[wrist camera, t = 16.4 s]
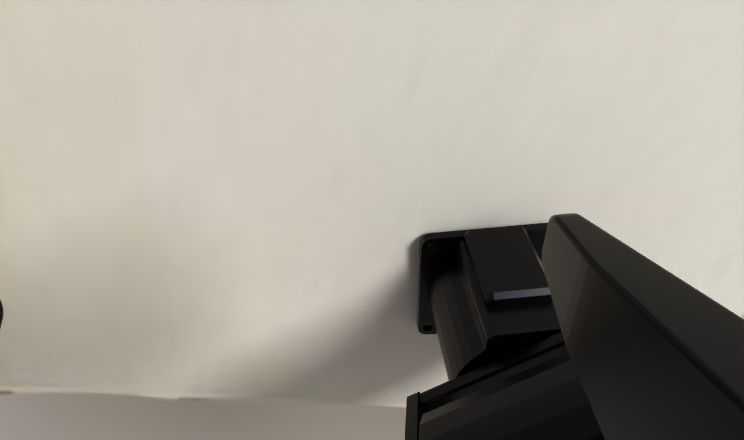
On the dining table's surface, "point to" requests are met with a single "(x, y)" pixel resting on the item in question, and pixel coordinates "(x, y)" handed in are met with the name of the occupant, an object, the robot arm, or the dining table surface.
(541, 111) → the dining table surface
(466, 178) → the dining table surface
